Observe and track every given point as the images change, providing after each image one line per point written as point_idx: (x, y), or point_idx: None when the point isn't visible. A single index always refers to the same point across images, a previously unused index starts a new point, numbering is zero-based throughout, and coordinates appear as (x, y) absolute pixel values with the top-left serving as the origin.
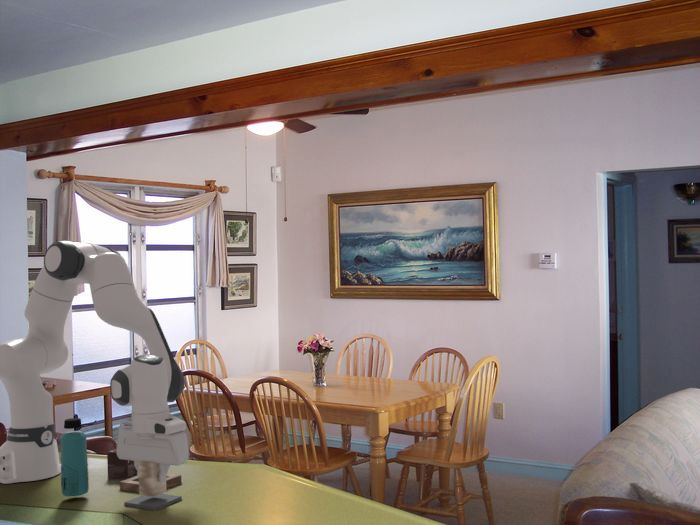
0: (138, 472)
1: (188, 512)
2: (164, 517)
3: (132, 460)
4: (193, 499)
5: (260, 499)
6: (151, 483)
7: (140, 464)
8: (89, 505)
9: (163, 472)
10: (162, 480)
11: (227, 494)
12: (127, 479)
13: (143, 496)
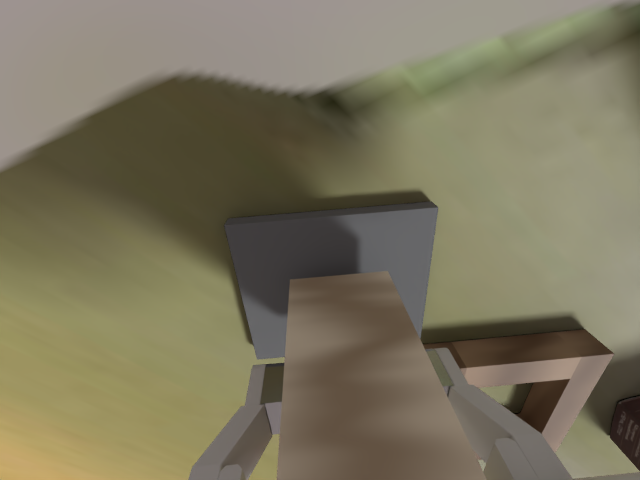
0: (464, 383)
1: (75, 264)
2: (86, 162)
3: (587, 477)
4: (224, 366)
5: (32, 441)
6: (301, 329)
7: (442, 449)
8: (622, 123)
9: (228, 432)
10: (252, 375)
11: (173, 431)
12: (594, 381)
13: (408, 300)
